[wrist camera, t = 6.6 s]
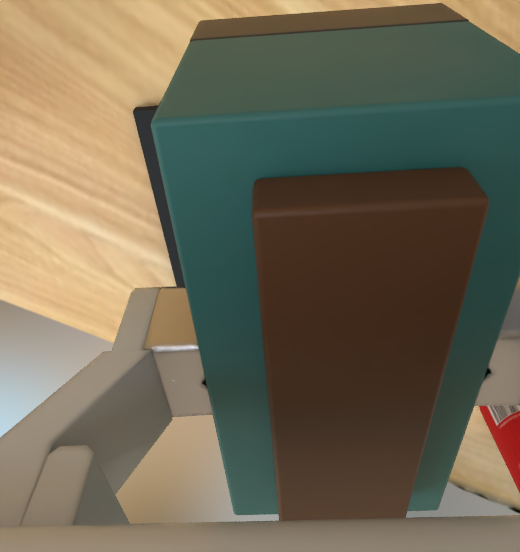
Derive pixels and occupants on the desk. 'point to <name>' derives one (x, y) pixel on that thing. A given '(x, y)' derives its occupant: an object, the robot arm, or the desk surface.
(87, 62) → the desk surface
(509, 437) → the beverage can
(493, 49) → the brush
